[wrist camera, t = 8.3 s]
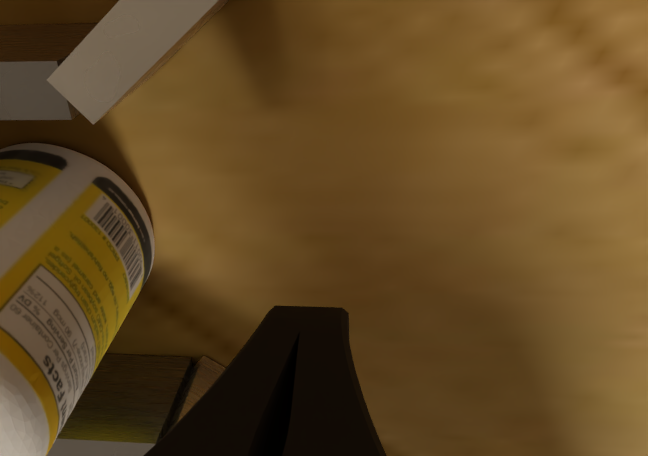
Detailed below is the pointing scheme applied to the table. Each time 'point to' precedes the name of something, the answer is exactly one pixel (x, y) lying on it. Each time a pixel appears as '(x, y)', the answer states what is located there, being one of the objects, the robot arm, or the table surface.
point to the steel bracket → (93, 102)
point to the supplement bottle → (61, 283)
